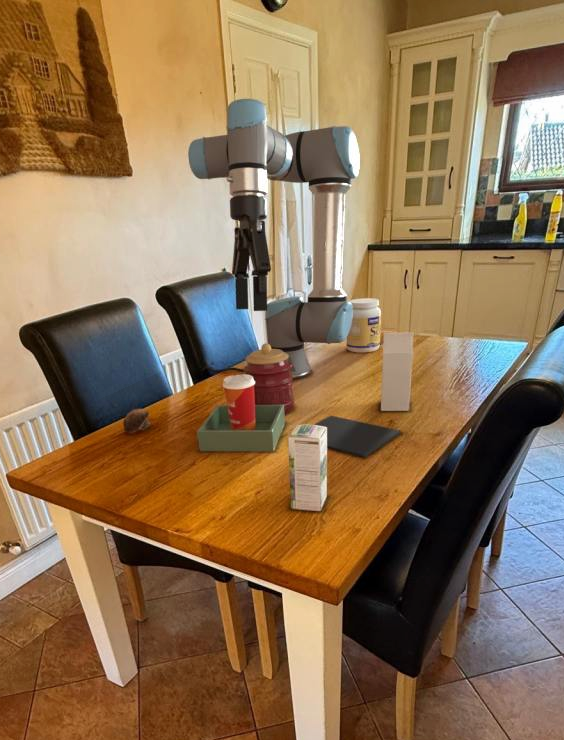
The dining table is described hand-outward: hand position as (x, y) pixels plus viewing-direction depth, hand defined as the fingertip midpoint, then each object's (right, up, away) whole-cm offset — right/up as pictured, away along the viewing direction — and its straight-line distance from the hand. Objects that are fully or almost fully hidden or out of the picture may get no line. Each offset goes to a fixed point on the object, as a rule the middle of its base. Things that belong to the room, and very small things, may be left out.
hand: (250, 310), depth 112 cm
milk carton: (+37, -16, +24) cm, 47 cm away
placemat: (+22, -26, +10) cm, 36 cm away
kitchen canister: (+4, -16, +30) cm, 34 cm away
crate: (-2, -25, +14) cm, 29 cm away
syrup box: (+12, -42, -16) cm, 47 cm away
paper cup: (-2, -25, +14) cm, 29 cm away
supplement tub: (+38, +16, +78) cm, 88 cm away
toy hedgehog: (-30, -23, +23) cm, 44 cm away
